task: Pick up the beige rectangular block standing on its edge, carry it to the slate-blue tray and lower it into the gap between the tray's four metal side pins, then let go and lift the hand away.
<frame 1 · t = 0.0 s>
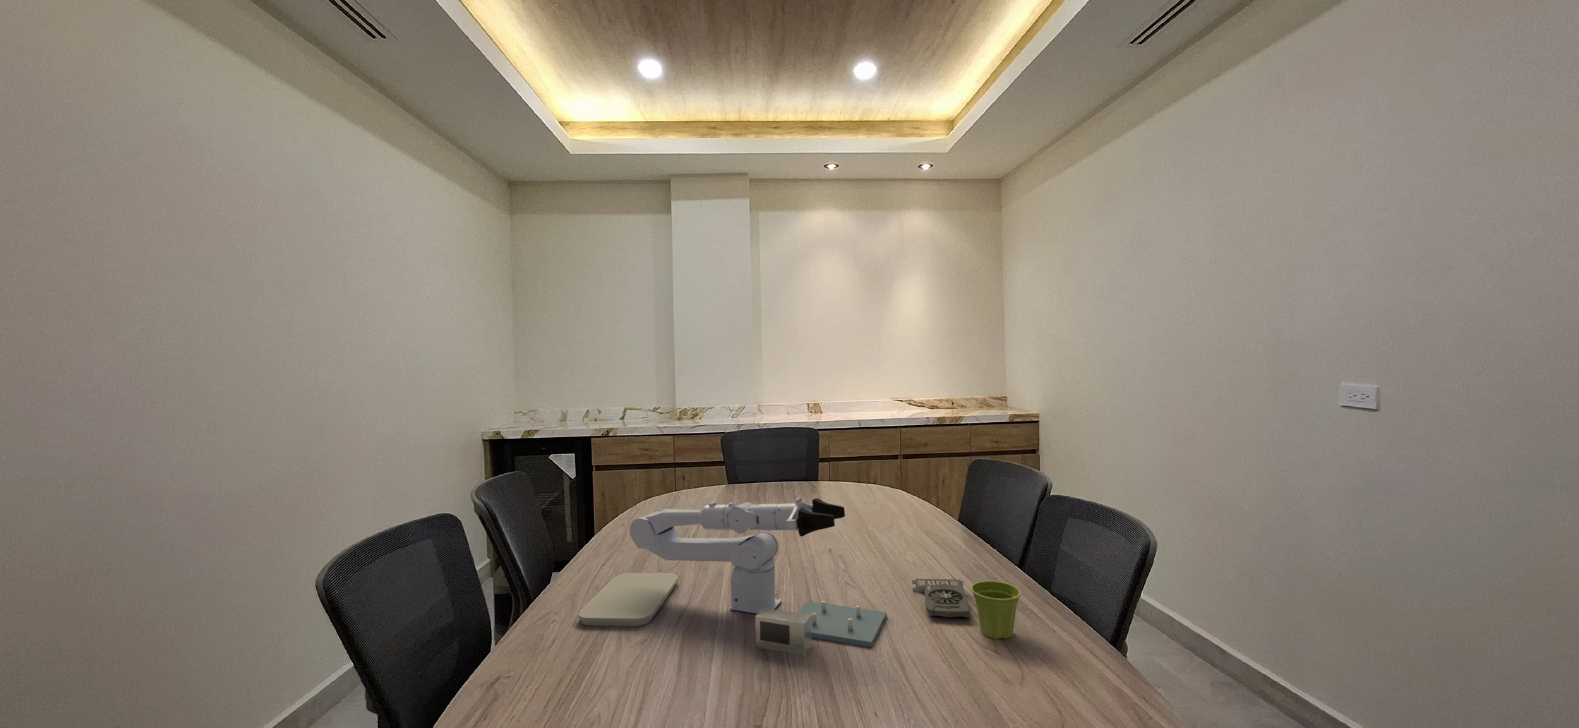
hand: (839, 516, 123), 22 cm above the table, tool horizontal, fingers open, 7 cm apart
graphics card: (940, 608, 129), on the table
tray: (836, 624, 120), on the table
plant pot: (996, 633, 115), on the table
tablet: (632, 604, 134), on the table
beige rectangular block: (783, 646, 111), on the table
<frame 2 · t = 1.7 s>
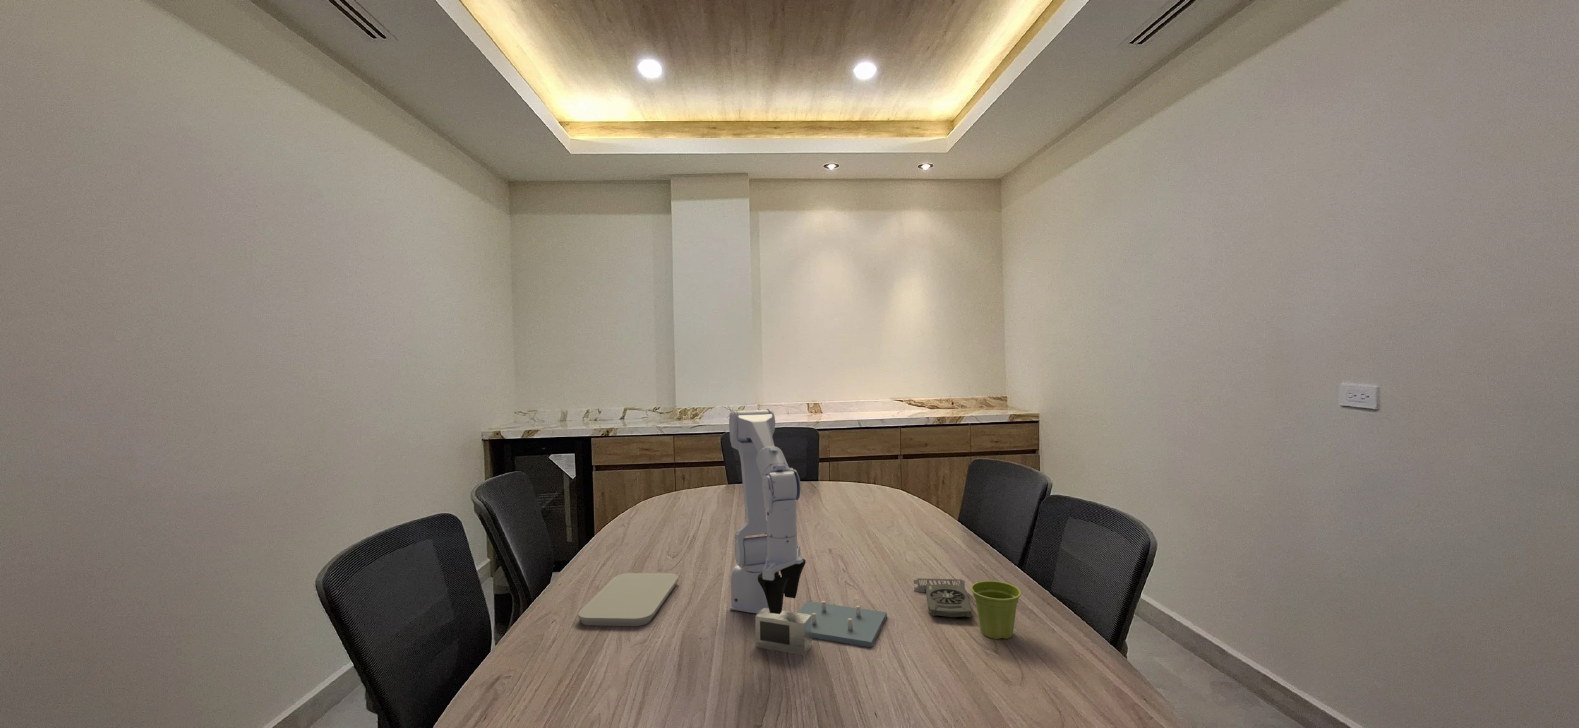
hand: (783, 604, 111), 8 cm above the table, tool pointing down, fingers open, 7 cm apart
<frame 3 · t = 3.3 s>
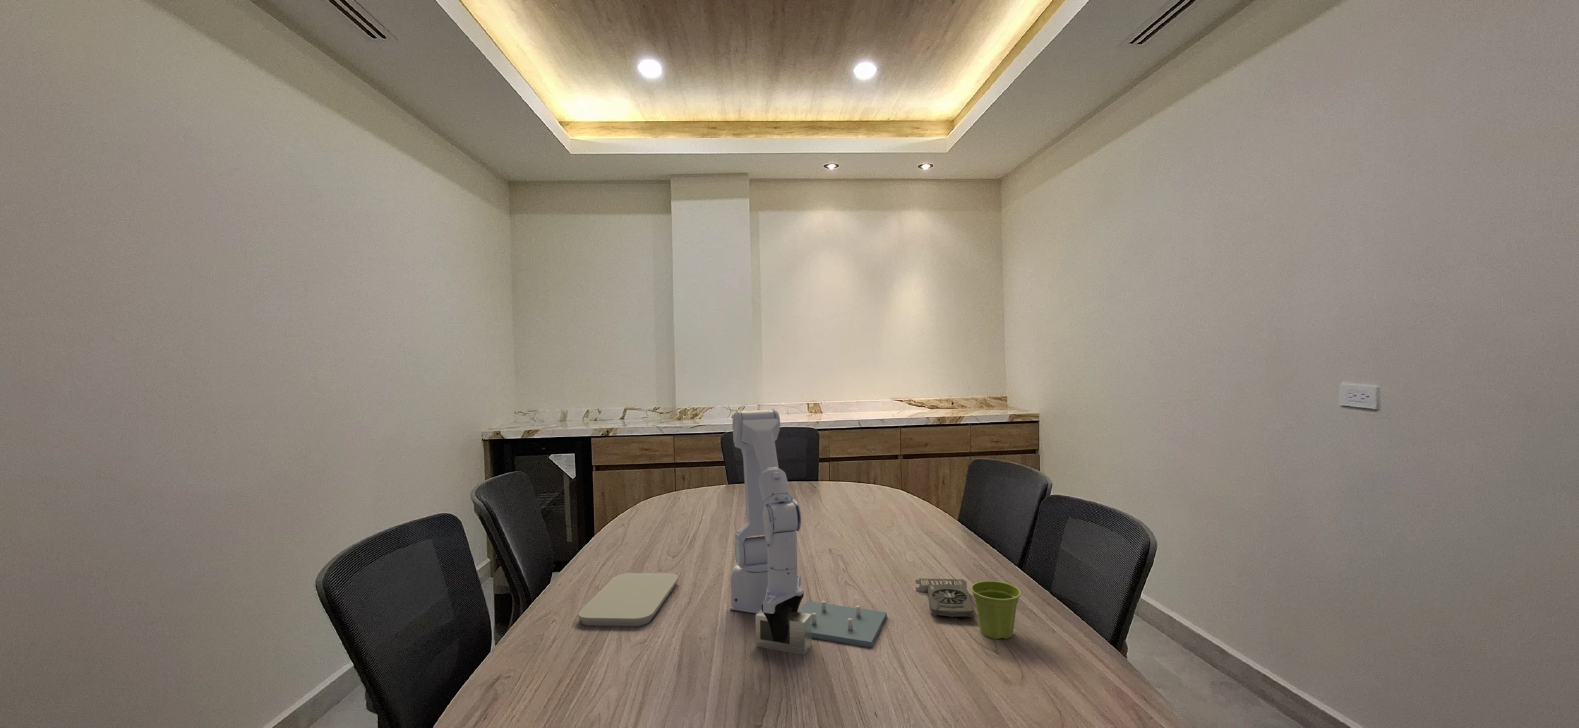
hand: (783, 635, 111), 2 cm above the table, tool pointing down, fingers closed on beige rectangular block, 4 cm apart
beige rectangular block: (783, 645, 111), on the table, touching gripper
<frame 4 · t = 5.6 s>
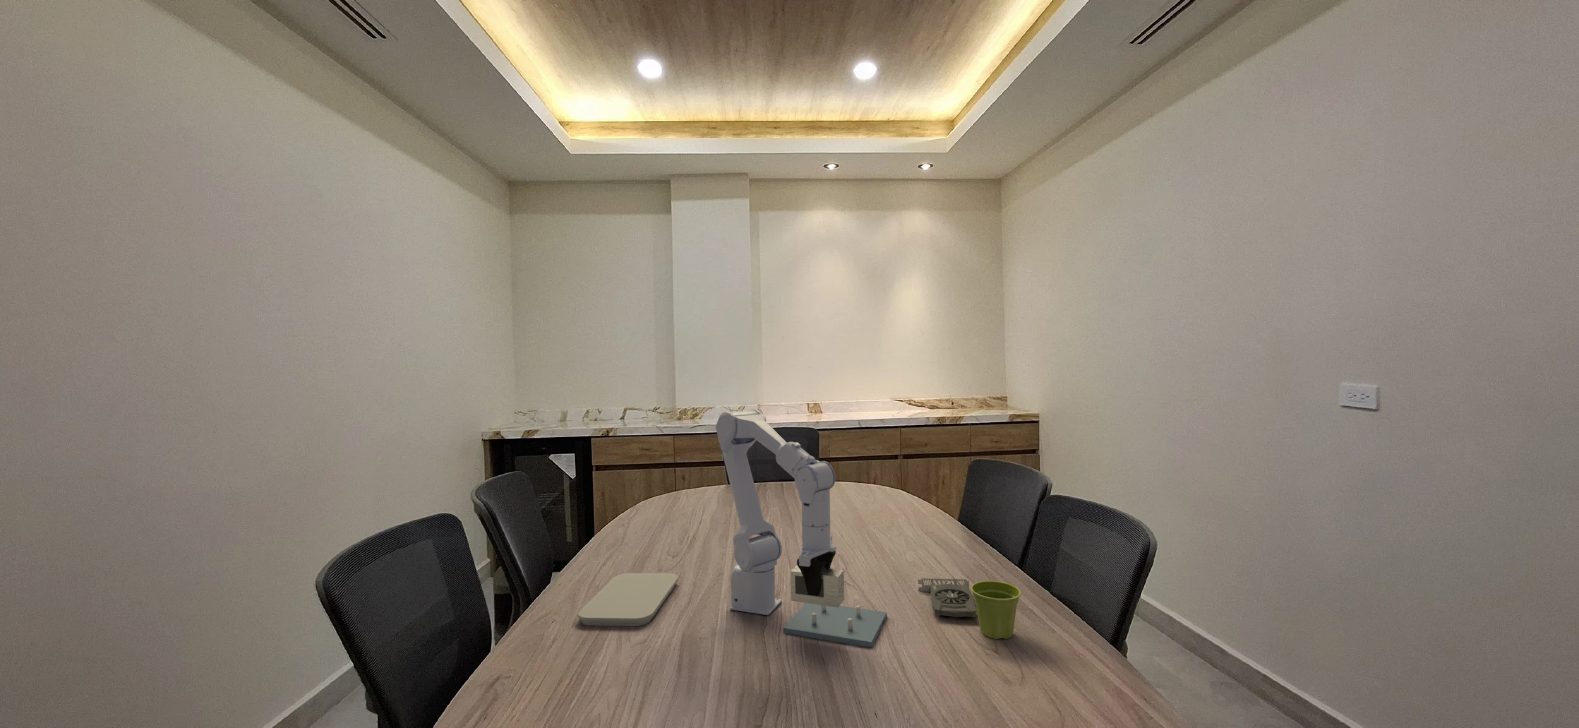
hand: (817, 590, 117), 8 cm above the table, tool pointing down, fingers closed on beige rectangular block, 4 cm apart
beige rectangular block: (817, 600, 117), point 6 cm above the table, touching gripper
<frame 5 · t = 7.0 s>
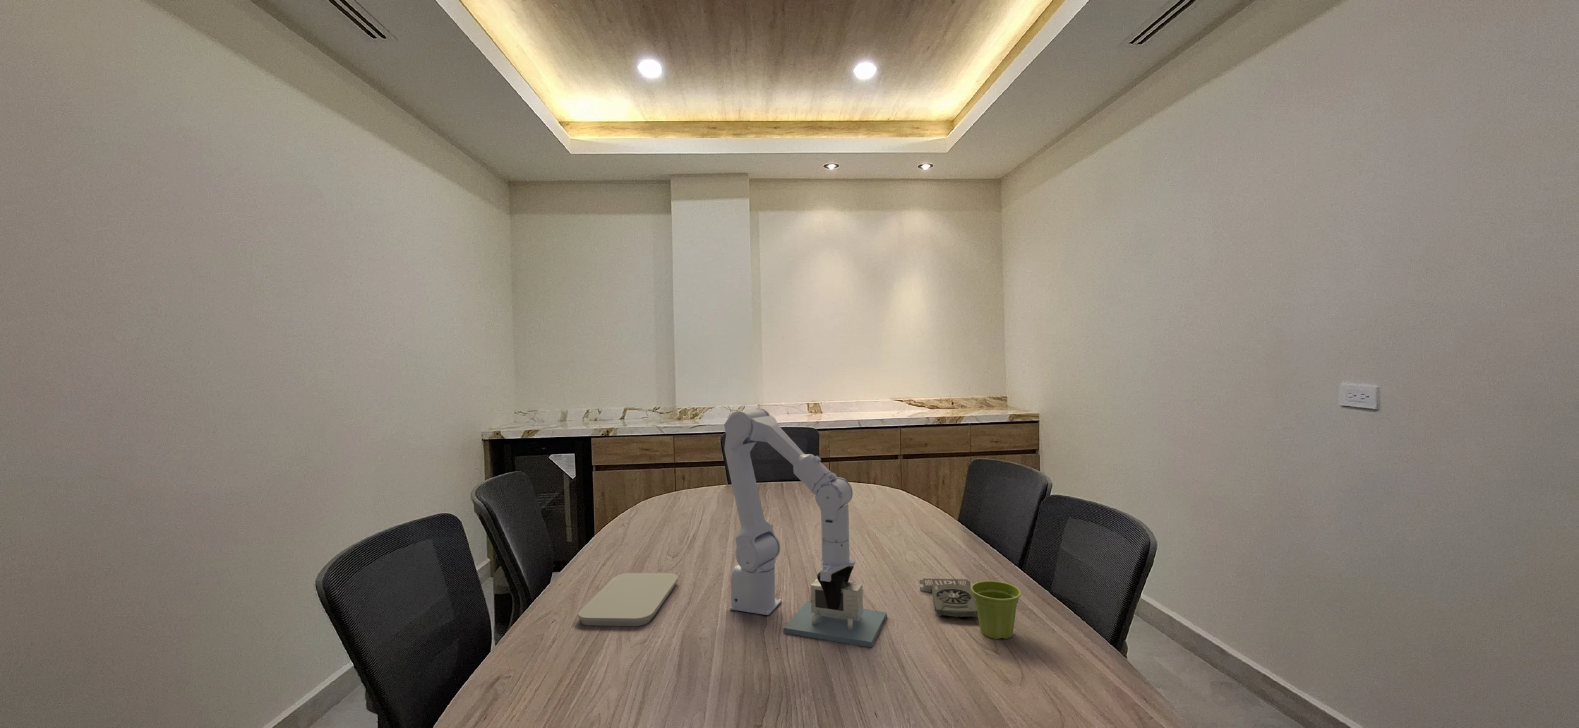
hand: (836, 603, 120), 4 cm above the table, tool pointing down, fingers closed on beige rectangular block, 4 cm apart
beige rectangular block: (837, 613, 120), point 2 cm above the table, touching gripper
when the fingers open (4 cm above the table, at t = 8.2 s): beige rectangular block stays where it is, resting on tray.
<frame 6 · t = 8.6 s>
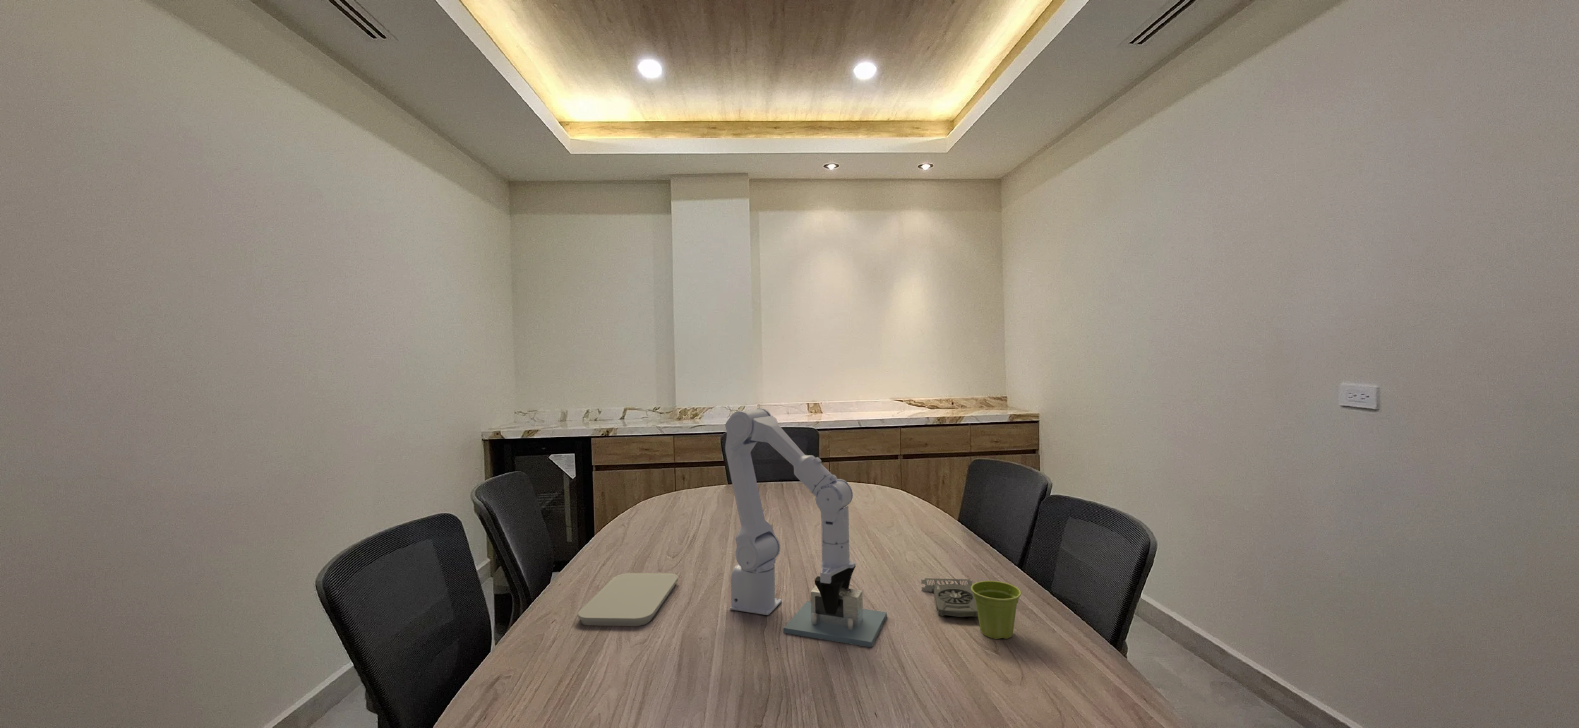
hand: (836, 605, 120), 4 cm above the table, tool pointing down, fingers open, 7 cm apart
beige rectangular block: (837, 619, 120), point 1 cm above the table, touching tray
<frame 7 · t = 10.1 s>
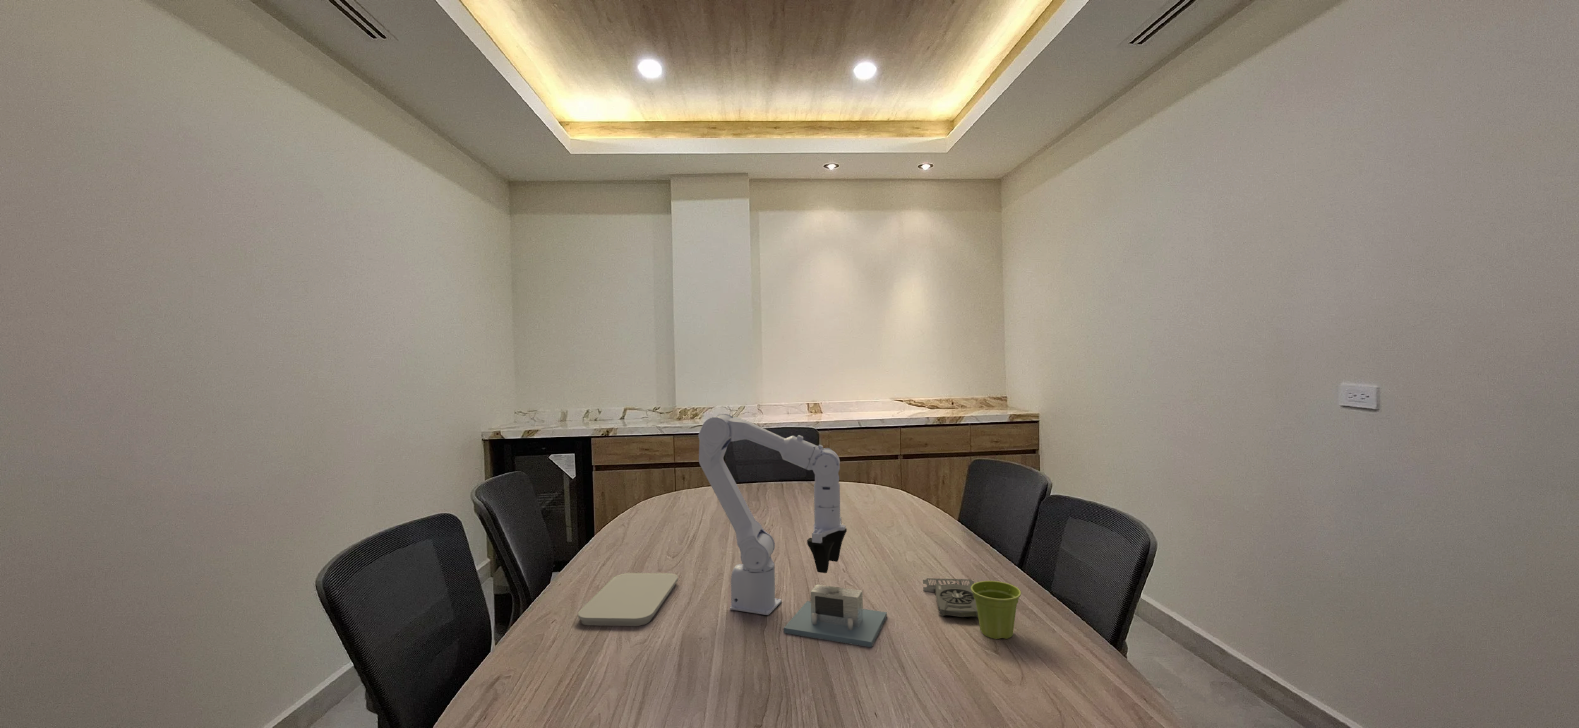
hand: (827, 566, 128), 9 cm above the table, tool pointing down, fingers open, 7 cm apart
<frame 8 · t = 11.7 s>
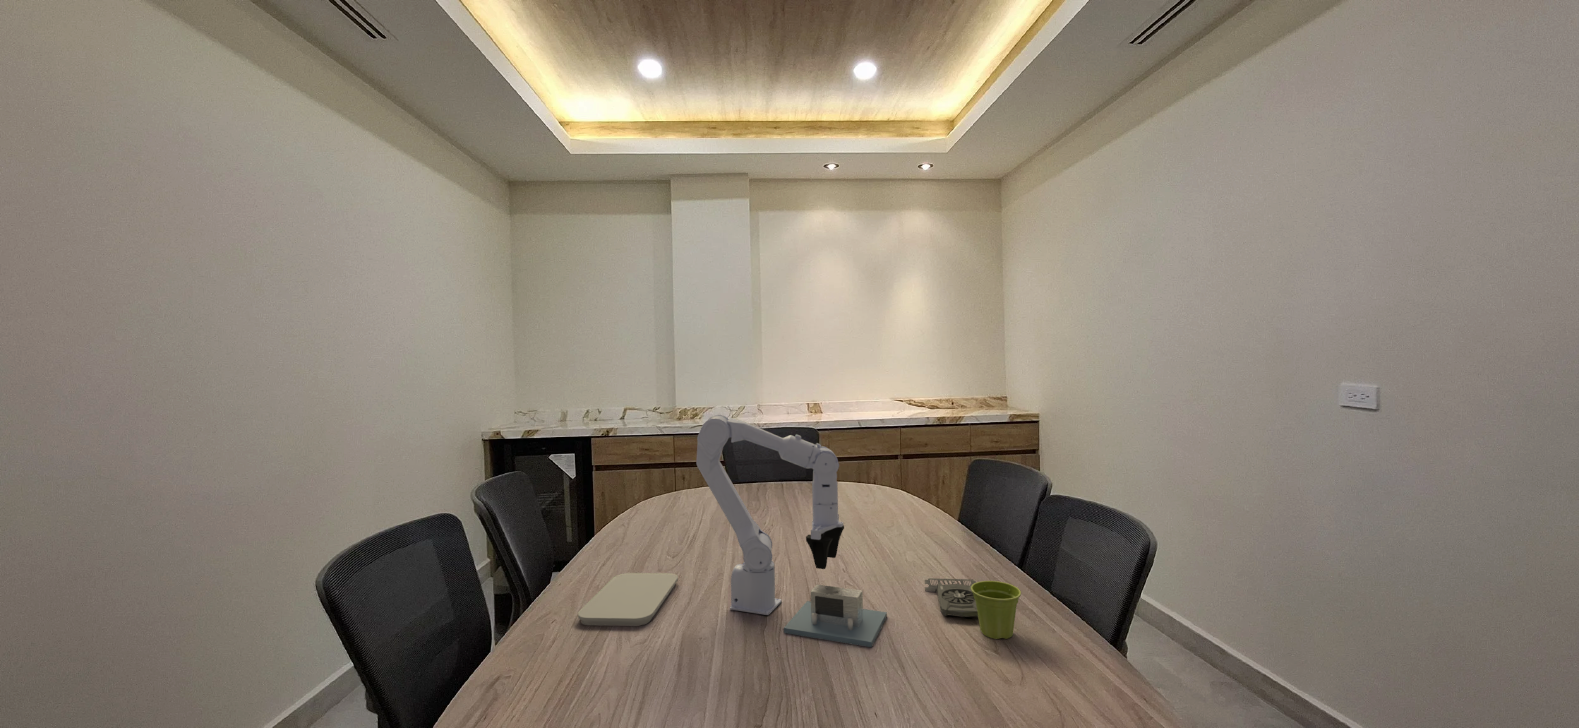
hand: (826, 562, 130), 9 cm above the table, tool pointing down, fingers open, 7 cm apart
at the end: beige rectangular block 0.1 cm off-centre on the tray, point 1.0 cm above the tray's base; beige rectangular block tilted 0°; the gripper is holding nothing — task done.
